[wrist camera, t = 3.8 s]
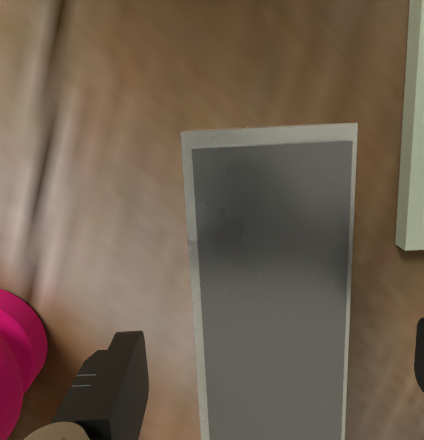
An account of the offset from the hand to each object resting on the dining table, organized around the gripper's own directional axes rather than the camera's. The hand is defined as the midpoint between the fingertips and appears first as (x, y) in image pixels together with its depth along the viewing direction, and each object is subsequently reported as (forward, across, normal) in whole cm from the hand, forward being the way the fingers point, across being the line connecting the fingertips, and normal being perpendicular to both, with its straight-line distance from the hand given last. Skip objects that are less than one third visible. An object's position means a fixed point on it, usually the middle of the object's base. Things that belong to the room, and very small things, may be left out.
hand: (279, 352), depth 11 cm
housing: (+8, 0, 0) cm, 8 cm away
